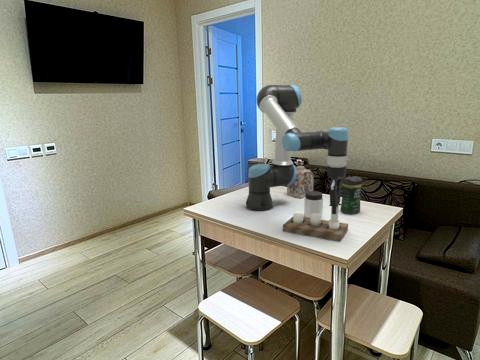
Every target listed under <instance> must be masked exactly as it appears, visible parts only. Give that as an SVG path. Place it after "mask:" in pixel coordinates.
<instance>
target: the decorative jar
mask: <svg viewBox="0 0 480 360" xmlns="http://www.w3.org/2000/svg"><path fill="white" fill-rule="evenodd" d="M296 170H297V177H296V180H295V182H294V183H293V184H291V185H287V186H286V195H288V196H291V197H292V198H293V197H294V198H297V199H302V198H304V199H305V196H306V192H309V191H314V177H315V176H314V175H315V174H314V173H313V172H312V170H311V169H307V168H305V166H304V165H297V166H296Z"/></svg>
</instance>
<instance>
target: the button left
mask: <svg viewBox="0 0 480 360" xmlns="http://www.w3.org/2000/svg"><path fill="white" fill-rule="evenodd" d="M292 217H293V223H297V224H303V217H304V214H302V213H293V216H292Z"/></svg>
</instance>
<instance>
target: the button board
mask: <svg viewBox="0 0 480 360" xmlns="http://www.w3.org/2000/svg"><path fill="white" fill-rule="evenodd" d="M310 221H311V218H308V217H305V216H303V224H297V223H293V216H292V217H290V218H289V219H288V220H287V221H286V222H285V223H283V224H282V232H286V233H291V234H296V235H301V236H306V237H312V238H318V239H323V240H328V241H333V242H334V241H335V242H337V243H338V242H339V243H341V242H342V240H343V238H344V237H345V236H346V234H347V232H348V230H349V223H348V222H347V223H345V222H340V223H339V231H338V230H332V229H328V228H329V220H326V219H321V226H320V227H314V226H311V225H310Z"/></svg>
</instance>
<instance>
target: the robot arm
mask: <svg viewBox="0 0 480 360" xmlns="http://www.w3.org/2000/svg"><path fill="white" fill-rule="evenodd" d="M302 97H303V96H302V93H301V90H300V88H299V86H297V85H294V84H268V85H266V86H263V87H262V88H261V89H260V90H259V91H258V93H257V95H256V105H257V107H258V109H259V110H260V112H261V113H263V114H265V115H266V117H267V118H268V119H269V120H270V122H271V123H272V124H273V126H274V127H275V144H274V159H273V160H272V161H271V165H270V164H269V163H257V164H254V165H251V166H250V167H249V168H248V174H247V177H248V195H247V198H246V201H245V208H246V209H248V210H249V211H253V212H254V211H256V212H257V211H258V212H263V211H265V212H266V211H269V210H272V209H273V208H274V202H273V201H274V200H273V198H272V195H271V188H276V187H287V185H291V184H293V183H294V182H295V180H296V177H297V170H296V169H297V166H296V165H294V162H293V161H292V160H291V159H292V158H291V156H292V155H291V154H292V152H300V151H308V150H309V151H312V150H327V160H326V161H327V162H326V163H327V167H326V170H327V171H326V175H327V176H329V177H331V179H330V181H329V186H328V188H329V204H328V206H329V207H330V208H331V209H330V219H331V221H338V220H339V210H340V206H341V198H342V197H341V196H342V188H343V186H342V182H343V179H342V177H345V176H346V175H347V166H346V165H347V161H349V158H348V157H347V156H348V145H349V143H348V141H349V132H348V128H346V127H340V126H339V127H329V128H328V131H323V130H315V131H309V132H308V131H305V132H302V131H301V130H300V128H299V127H298V126H297V125H296V124H295V123H294V121H293V120H294V115H295V114H296V113H297V109H298V108H300V107H301V105H302V102H303V101H302V99H303V98H302Z"/></svg>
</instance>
